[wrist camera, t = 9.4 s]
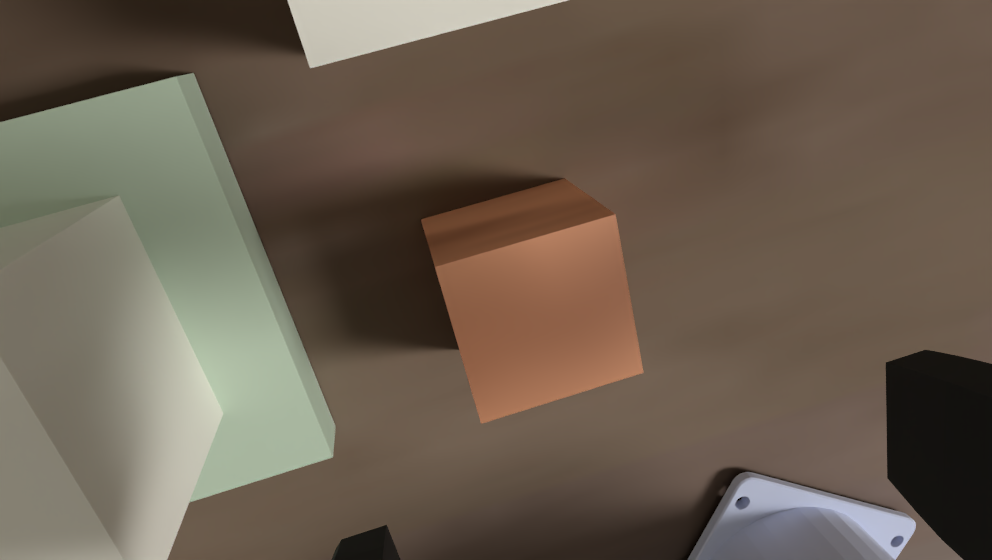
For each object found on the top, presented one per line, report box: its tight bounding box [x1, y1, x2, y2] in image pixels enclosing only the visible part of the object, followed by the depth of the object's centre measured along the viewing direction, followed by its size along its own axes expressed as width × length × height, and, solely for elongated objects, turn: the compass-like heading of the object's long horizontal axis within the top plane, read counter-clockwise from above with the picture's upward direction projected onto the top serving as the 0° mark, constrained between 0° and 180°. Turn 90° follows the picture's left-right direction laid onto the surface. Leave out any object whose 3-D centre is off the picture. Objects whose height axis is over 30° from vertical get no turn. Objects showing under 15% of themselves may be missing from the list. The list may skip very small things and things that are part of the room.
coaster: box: [0, 73, 335, 502], centre depth 16 cm, size 10×10×2 cm
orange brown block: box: [421, 178, 643, 424], centre depth 16 cm, size 4×4×4 cm
